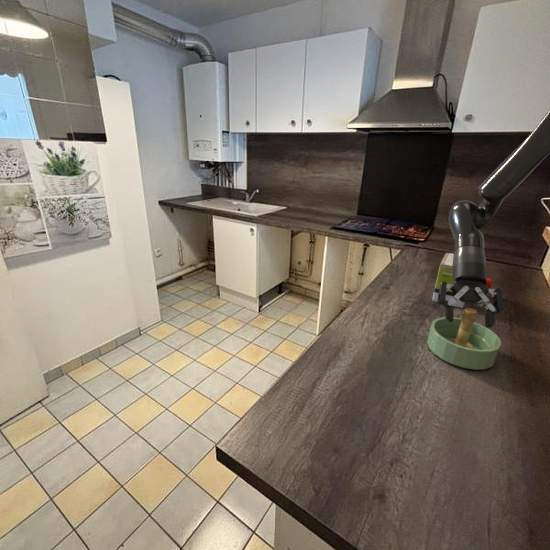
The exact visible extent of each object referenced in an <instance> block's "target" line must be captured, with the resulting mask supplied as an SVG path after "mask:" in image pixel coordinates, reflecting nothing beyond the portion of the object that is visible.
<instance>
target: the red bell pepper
mask: <svg viewBox="0 0 550 550" xmlns="http://www.w3.org/2000/svg"><path fill="white" fill-rule="evenodd" d="M486 280H487V282H486V285H487V287H488V289H492V285H493V280H492V279H491V278H489V277H487V276H486Z"/></svg>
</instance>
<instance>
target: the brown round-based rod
mask: <svg viewBox="0 0 550 550" xmlns="http://www.w3.org/2000/svg"><path fill="white" fill-rule="evenodd" d="M477 313H478V312H477V310H476V309H474V308H471V307H466V308H464V310H463V314H462V317H461V319H462V320H461V324H460V327H459V330H458V334H457V337H456V338H451V339H449V340H448V341H450V342H452V343H455V344H457V345H460V346H463V347H467V348H471V349H474V348H473V346H472V345H471V344H470V343H468V339H469V335H470V332H471V329H472V326H473V323H474V322H475V319H476V316H477Z"/></svg>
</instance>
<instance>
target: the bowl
mask: <svg viewBox="0 0 550 550" xmlns="http://www.w3.org/2000/svg"><path fill="white" fill-rule="evenodd" d="M461 320H462V317H454V316H453V321H452V322H448V319H446V318H445V316H443V317H438V318H435V319H434V320H433V321H432V322H431V324H430V328H429V332H428V337H427V340H426V344H427V347H428V348H429V349H430V351H431V352H432V353H433V354H434V355H435V356H437V357H438V358H440V359H441V360H443V361H445V362H447V363H448V364H451V365H453V366H457V367H460V368H463V369H469V370H487V369H489V368H492V367H493V366H494V365H495V363H496V361H497V358H498V356H499V352H500V350H501V347H502V340H501V338H500V337H499V336H498V334H496V332H494V331H492V330H491V329H490V328H486V327H485V325H482V324H480V323H478V322H475V321H474V323H473V326H472V329H471V332H470V335H469V339H468V343H470V344H471V345H472V346H473V348H474V349H471V348H467V347H463V346H460V345H457V344H455V343H452V342H450V341H448V340H449V339H451V338H456V337H457V334H458V330H459V327H460V324H461Z"/></svg>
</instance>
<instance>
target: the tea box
mask: <svg viewBox="0 0 550 550" xmlns="http://www.w3.org/2000/svg"><path fill="white" fill-rule="evenodd" d="M453 257H454V253H450V252H446V253H445V255H444V256H443V258H442V260H441V262H440V264H439V268H438V272H437V277H436V281H435V286H434V289H433V294H432V302H435V303H438V294H439V286H440V284H441V283H442V282H444V281H445V282H446V283H447V284H453V266H452V264H453ZM454 296H455V294H454V293H453V292H452V290H451V289H449V290H448V291H447V292H446V298H445V300H447V301H450V300H451V299H452V298H453V297H454ZM465 304H466V302H461V301H460V300H459V299H458V300H457V301H456V302H455V303H454V304H453V305H452V306H453V307H456V308H461V309H463V308H464V306H465Z"/></svg>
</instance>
